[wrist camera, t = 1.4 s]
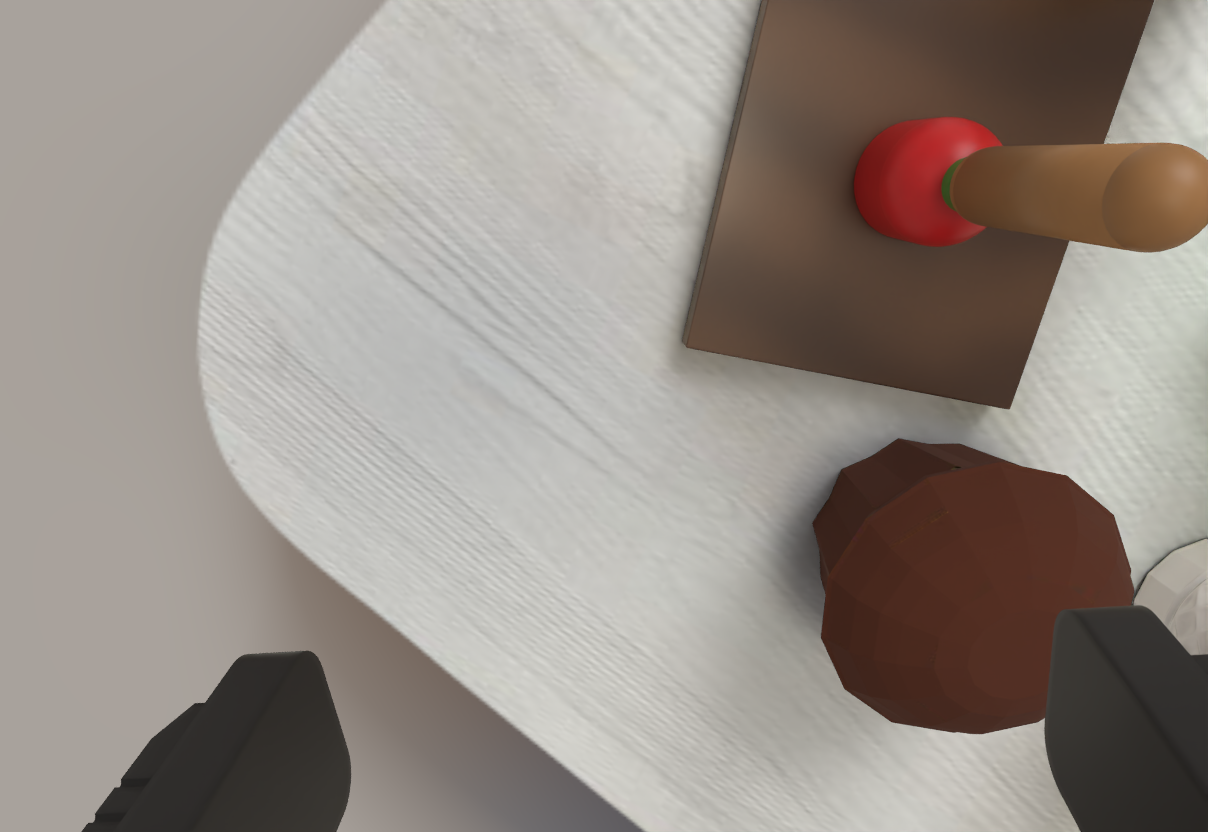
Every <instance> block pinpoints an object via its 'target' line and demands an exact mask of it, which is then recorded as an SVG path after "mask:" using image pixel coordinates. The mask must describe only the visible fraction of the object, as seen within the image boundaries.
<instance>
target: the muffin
mask: <svg viewBox="0 0 1208 832" xmlns="http://www.w3.org/2000/svg"><path fill="white" fill-rule="evenodd" d="M812 524H813V527H814V531H815V535H816V539H817V543H818V546H819V553H820V575H821V580H822V584H823V587H824V591H825V594H826V597H825V606H824V615H823V624H822V633H821V639H822V641H823V643H824V645H825V647H826V650H827V652H828V654H829V656H830V658H831V661H832V663H833V665H834V667H835V669H836V672H837V674H838V676H839V678H840V680H841V682H842V685H843V687H844V689H845V690H847V691H848V692H849V693H851V694H852V695H854V696H855V697H857V698H858V699H859V700H861V701H862V702H864V703H865V704H867V705H868V706H869V707H871V708H872V709H874V710H875V711H877V712H878V713H879V714H881V715H882V716H884V717H885V718H886V719H888V720H889V721H891V722H893V723H899V724H905V725H911V726H917V727H923V728H929V729H935V730H941V731H947V732H953V733H955V732H961V733H968V734H985V733H989V732H994V731H999V730H1003V729H1008V728H1013V727H1018V726H1022V725H1027V724H1032V723H1036V722H1039V721H1040V720H1042V719H1044V718H1045V714H1046V704H1047V693H1048V683H1049V673H1050V662H1051V652H1052V642H1053V631H1054V624H1055V620H1056V617H1057V615H1058V614H1059V613H1060V611H1062V610H1064V609H1081V608H1098V607H1115V606H1131V603H1132V599H1133V595H1134V587H1133V583H1132V580H1131V576H1130V574H1131V568H1130V565H1129V562H1128V559H1127V556H1126V552H1125V549H1124V546H1123V543H1122V540H1121V537H1120V533H1119V530H1118V527H1117V524H1116V521H1115V518H1114V515H1113V514H1112V513H1111V512H1109V511H1108V510H1107V509H1106V508H1105V507H1103V506H1102V505H1101V504H1100V503H1099V502H1098V501H1096V500H1095V499H1094V498H1093V497H1092V496H1090V495H1089V494H1088V493H1087V492H1086V491H1085V490H1083V489H1082V488H1081V487H1080V486H1079V485H1077V484H1076V483H1075V482H1074V481H1073V480H1071V479H1070V478H1069V477H1068V476H1066V475H1061V474H1056V473H1051V472H1047V471H1042V470H1037V469H1032V468H1027V467H1022V466H1019V465H1016V464H1014V463H1011V462H1008V461H1005V460H1003V459H1000V458H997V457H994V456H992V455H989V454H986V453H984V452H981V451H978V450H975V449H973V448H970V447H967V446H964V445H962V444H926V443H920V442H915V441H909V440H904V439H897V440H895V441H894V442H892V443H891V444H889V445H888V446H886V447H885V448H883V449H882V450H880V451H879V452H877V453H876V454H874V455H873V456H871V457H869V458H867V459H864V460H862V461H860V462H857V463H855V464H853V465H851V466H848V467H846V468H844V469H842V470H841V472H840V474H839V477H838V479H837V481H836V484H835V486H834V488H833V490H832V493H831V495H830V497H829V499H828V500H827V502H826V503H825V505H824V506H823V508H822V509H821V511H820V512H819V514H818V515H817V517H816V518H815V520H814V521H813V523H812Z"/></svg>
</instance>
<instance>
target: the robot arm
mask: <svg viewBox="0 0 1208 832" xmlns="http://www.w3.org/2000/svg"><path fill="white" fill-rule="evenodd" d="M1044 729H1045V743H1046V750H1047V755H1048V760H1049V764H1050V767H1051V771H1052V774H1053V777H1054V780H1055V782H1056V785H1057V787H1058V789H1059V791H1060V793H1061V795H1062V797H1063V799H1064V801H1065V803H1066V805H1067V806H1068V808H1069V810H1070V812H1071V814H1072V816H1073V818H1074V820H1075V822H1076V824H1077V825H1078V827H1079V829H1080V831H1081V832H1208V654H1202V655H1190V654H1189V653H1188V651H1187V650H1186V649H1185V648H1184V647H1183V646H1182V645H1181V643H1180V642H1179V641H1178V640H1177V639H1176V638H1175V636H1174V635H1173V634H1172V633H1171V632H1170V631H1169V629H1168V628H1167V627H1166V626H1165V625H1164V624H1163V623H1162V621H1161V620H1160V619H1159V618H1158V617H1157V616H1156V615H1155V614H1154V613H1153V612H1152V611H1151V610H1150V609H1149V608H1147V607H1145V606H1142V605H1133V606H1115V607H1098V608H1081V609H1064V610H1062V611H1060V613H1059V614H1058V615H1057V617H1056V620H1055V624H1054V631H1053V642H1052V652H1051V662H1050V673H1049V683H1048V693H1047V704H1046V714H1045V728H1044ZM350 784H351V763H350V756H349V752H348V748H347V745H346V742H345V738H344V735H343V732H342V729H341V726H340V722H339V719H338V716H337V713H336V710H335V706H334V703H333V700H332V697H331V693H330V690H329V687H328V684H327V681H326V677H325V674H324V671H323V668H322V665H321V663H320V661H319V659H318V657H317V656H316V655H315V654H314V653H312V652H311V651H295V652H278V653H262V654H247V655H243V656H241V657H239V658H238V659H237V660H236V661H235V662H234V663H233V665H232V666H231V667H230V669H229V670H228V672H227V673H226V675H225V676H224V677H223V679H222V680H221V682H220V683H219V684H218V686H217V687H216V688H215V690H214V691H213V693H212V694H211V695H210V697H209V698H208V700H207V701H206V702H205V703H195V704H194V705H192V706H191V707H190V708H189V709H187V710H186V711H185V712H184V713H183V714H181V715H180V716H179V717H178V718H177V719H175V720H174V721H173V722H171V723H170V724H169V725H168V726H167V727H166V728H164V729H163V730H162V731H160V732H159V733H158V734H157V735H156V736H154V737H153V738H152V739H151V740H150V741H149V743H148V744H147V746H146V747H145V748H144V749H143V751H142V752H141V754H140V755H139V756H138V758H137V759H136V760H135V761H134V763H133V764H132V765H131V767H130V768H129V769H128V771H127V772H126V773H125V775H124V776H123V777H122V779H121V786H120V787H119V788H114V789H113V791H112V792H111V793H110V795H109V796H108V797H107V799H106V800H105V801H104V803H103V804H102V805H101V807H100V808H99V809H98V811H97V812H96V813H95V821H94V822H93V823H88V824H87V825H86V827H85V828H84V829H83V830H82V832H336V831H337V829H338V826H339V824H340V822H341V819H342V817H343V815H344V812H345V809H346V806H347V802H348V797H349V792H350Z"/></svg>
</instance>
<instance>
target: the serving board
mask: <svg viewBox="0 0 1208 832" xmlns="http://www.w3.org/2000/svg"><path fill="white" fill-rule="evenodd" d="M1153 3H1154V0H762V2H761V6H760V10H759V15H758V19H757V23H756V28H755V32H754V36H753V40H752V45H751V49H750V53H749V57H748V62H747V66H746V70H745V74H744V79H743V83H742V87H741V91H740V96H739V100H738V104H737V109H736V113H735V117H734V121H733V126H732V130H731V134H730V138H729V143H728V147H727V151H726V155H725V160H724V164H723V168H722V172H721V177H720V181H719V185H718V190H717V194H716V198H715V202H714V207H713V211H712V215H711V219H710V224H709V228H708V232H707V236H706V241H705V245H704V249H703V254H702V258H701V262H700V266H699V271H698V275H697V279H696V283H695V288H694V292H693V296H692V300H691V305H690V309H689V313H688V317H687V322H686V326H685V330H684V335H683V339H682V342H683V343H684V345H685V346H686V347H687V348H691V349H697V350H702V351H707V352H712V353H717V354H723V355H728V356H733V357H738V358H743V359H749V360H754V361H759V362H764V363H769V364H775V365H780V366H785V367H790V368H795V369H801V370H806V371H811V372H816V373H821V374H827V375H832V376H837V377H842V378H847V379H853V380H858V381H863V382H868V383H873V384H879V385H884V386H889V387H894V388H899V389H905V390H910V391H915V392H920V393H925V394H931V395H936V396H941V397H946V398H951V399H957V400H962V401H967V402H972V403H977V404H983V405H988V406H993V407H998V408H1003V409H1010V407H1011V404H1012V401H1013V399H1014V396H1015V393H1016V390H1017V387H1018V384H1019V382H1020V379H1021V376H1022V373H1023V370H1024V368H1025V365H1026V362H1027V359H1028V356H1029V353H1030V351H1031V348H1032V345H1033V342H1034V339H1035V336H1036V334H1037V331H1038V328H1039V325H1040V322H1041V319H1042V317H1043V314H1044V311H1045V308H1046V305H1047V302H1048V300H1049V297H1050V294H1051V291H1052V288H1053V285H1054V283H1055V280H1056V277H1057V274H1058V271H1059V268H1060V266H1061V263H1062V260H1063V257H1064V254H1065V252H1066V249H1067V246H1068V243H1069V240H1064V239H1058V238H1052V237H1046V236H1040V235H1034V234H1028V233H1022V232H1016V231H1010V230H1004V229H998V228H992V227H986V228H985V229H984V230H983V231H981V232H980V233H979V234H977V235H976V236H974V237H972V238H970V239H968V240H966V241H964V242H961V243H958V244H954V245H950V246H943V247H931V246H923V245H919V244H915V243H911V242H907V241H903V240H899V239H895V238H891V237H888V236H885V235H883V234H881V233H879V232H878V231H876V230H875V229H873V228H872V227H871V226H870V225H869V224H868V223H867V222H866V221H865V219H864V218H863V216H862V215H861V213H860V211H859V209H858V206H857V203H856V199H855V193H854V179H855V173H856V169H857V166H858V163H859V160H860V158H861V156H862V154H863V152H864V151H865V149H866V148H867V146H868V145H869V144H870V143H871V141H872V140H873V139H874V138H875V137H876V136H877V135H879V134H880V133H881V132H883V131H884V130H886V129H887V128H889V127H891V126H893V125H895V124H898V123H901V122H905V121H910V120H919V119H930V118H940V117H959V118H965V119H968V120H972V121H974V122H976V123H978V124H981V125H983V126H984V127H986V128H987V129H988V130H990V131H991V132H992V133H993V134H994V135H995V136H996V137H997V138H998V140H999V141H1000V142H1001V144H1002V145H1003V146H1034V145H1082V144H1104V141H1105V138H1106V136H1107V133H1108V130H1109V127H1110V124H1111V121H1112V119H1113V116H1114V113H1115V110H1116V107H1117V104H1118V102H1119V99H1120V96H1121V93H1122V90H1123V87H1124V85H1125V82H1126V79H1127V76H1128V73H1129V70H1130V68H1131V65H1132V62H1133V59H1134V56H1135V53H1136V51H1137V48H1138V45H1139V42H1140V39H1141V36H1142V34H1143V31H1144V28H1145V25H1146V22H1147V20H1148V17H1149V14H1150V11H1151V8H1152V5H1153Z"/></svg>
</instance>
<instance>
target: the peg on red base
mask: <svg viewBox="0 0 1208 832" xmlns="http://www.w3.org/2000/svg"><path fill="white" fill-rule="evenodd" d="M854 193H855V199H856V203H857V206H858V209H859V211H860V213H861V215H862V216H863V218H864V219H865V221H866V222H867V223H868V224H869V225H870V226H871V227H872V228H873V229H875V230H876V231H878V232H879V233H881V234H883V235H885V236H888V237H891V238H895V239H899V240H903V241H907V242H911V243H915V244H919V245H923V246H931V247H943V246H950V245H954V244H958V243H961V242H964V241H966V240H968V239H970V238H972V237H974V236H976V235H977V234H979V233H980V232H981V231H983V230H984V229H985V228H986V227H992V228H998V229H1004V230H1010V231H1016V232H1022V233H1028V234H1034V235H1040V236H1046V237H1052V238H1058V239H1064V240H1070V241H1076V242H1082V243H1088V244H1094V245H1100V246H1106V247H1112V248H1118V249H1124V250H1130V251H1136V252H1160V251H1164V250H1168V249H1171V248H1174V247H1177V246H1179V245H1181V244H1183V243H1185V242H1187V241H1189V240H1190V239H1191V238H1193V237H1194V236H1195V235H1197V234H1198V233H1199V232H1200V231H1201V230H1202V229H1203V228H1204V227H1205V226H1206V225H1207V224H1208V160H1207V159H1206V158H1205V157H1204V156H1203V155H1201V154H1200V153H1198V152H1197V151H1195V150H1193V149H1191V148H1189V147H1186V146H1183V145H1179V144H1172V143H1130V144H1082V145H1034V146H1003V145H1002V144H1001V142H1000V141H999V140H998V138H997V137H996V136H995V135H994V134H993V133H992V132H991V131H990V130H988V129H987V128H986V127H984V126H983V125H981V124H978V123H976V122H974V121H972V120H968V119H965V118H959V117H940V118H930V119H919V120H910V121H905V122H901V123H898V124H895V125H893V126H891V127H889V128H887V129H886V130H884V131H883V132H881V133H880V134H879V135H877V136H876V137H875V138H874V139H873V140H872V141H871V143H870V144H869V145H868V146H867V148H866V149H865V151H864V152H863V154H862V156H861V158H860V160H859V163H858V166H857V169H856V173H855V179H854Z"/></svg>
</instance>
